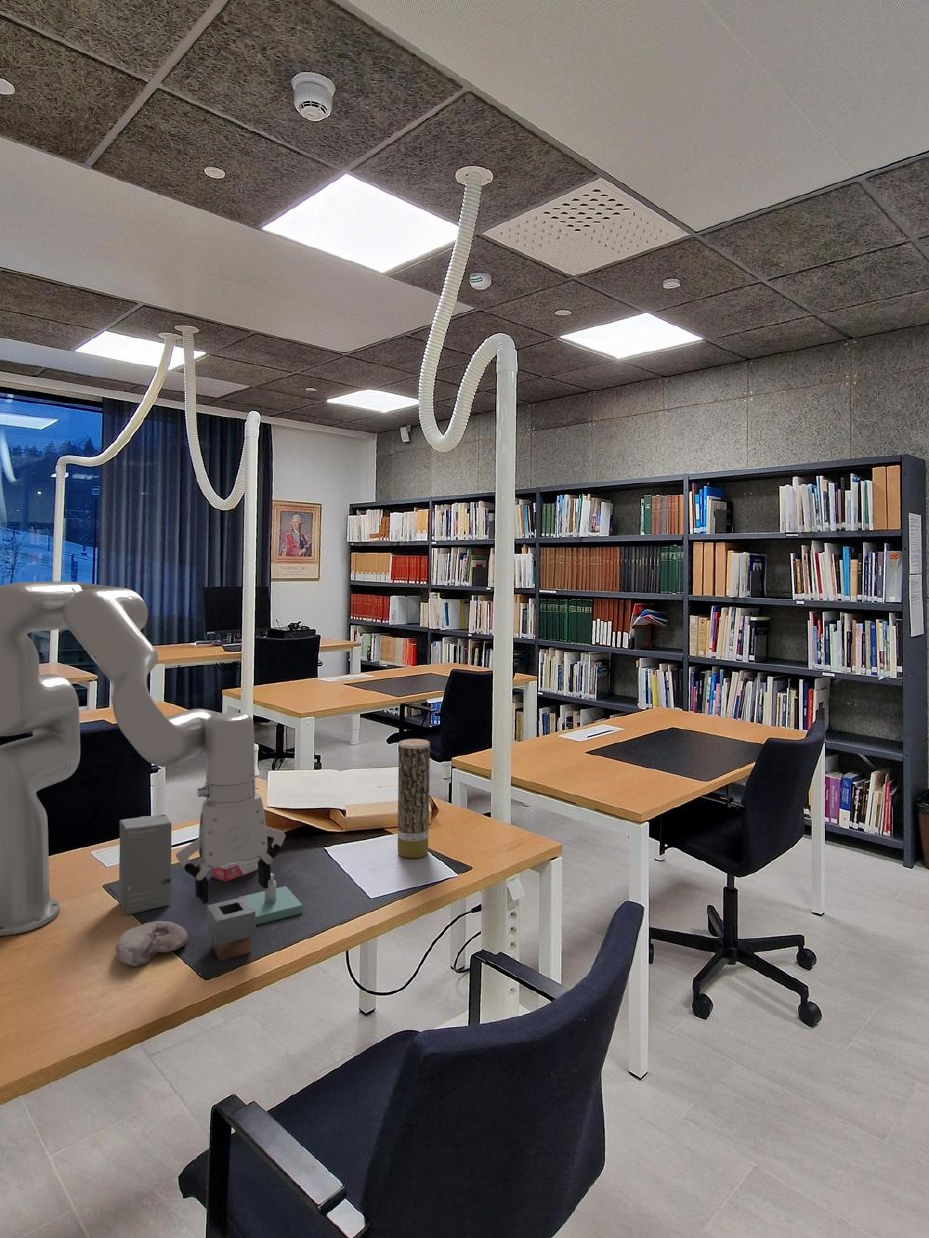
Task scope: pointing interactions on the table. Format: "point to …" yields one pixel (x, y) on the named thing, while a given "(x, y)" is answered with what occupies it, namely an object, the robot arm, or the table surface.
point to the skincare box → (145, 863)
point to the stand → (232, 948)
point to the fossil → (149, 941)
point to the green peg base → (274, 903)
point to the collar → (231, 920)
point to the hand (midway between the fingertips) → (234, 892)
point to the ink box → (235, 870)
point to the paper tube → (413, 798)
